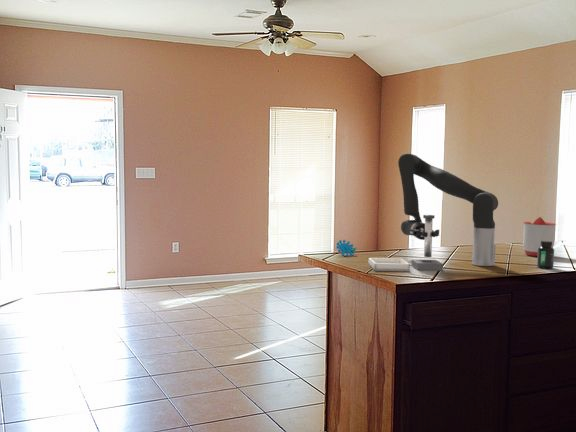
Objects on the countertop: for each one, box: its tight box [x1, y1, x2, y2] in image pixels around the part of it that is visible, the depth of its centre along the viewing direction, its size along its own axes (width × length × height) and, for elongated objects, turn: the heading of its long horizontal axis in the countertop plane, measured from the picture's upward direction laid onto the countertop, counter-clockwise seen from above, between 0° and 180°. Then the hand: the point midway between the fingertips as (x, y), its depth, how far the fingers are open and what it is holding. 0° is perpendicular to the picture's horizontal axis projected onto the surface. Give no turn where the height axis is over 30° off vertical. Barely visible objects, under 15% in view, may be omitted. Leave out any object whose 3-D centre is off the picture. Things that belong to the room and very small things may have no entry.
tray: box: [367, 257, 411, 272], centre depth 270 cm, size 15×17×3 cm
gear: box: [335, 239, 358, 257], centre depth 306 cm, size 11×6×10 cm
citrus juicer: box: [522, 216, 557, 257], centre depth 319 cm, size 16×17×20 cm
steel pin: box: [422, 214, 436, 258], centre depth 270 cm, size 5×5×18 cm
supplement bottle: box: [536, 241, 555, 270], centre depth 279 cm, size 7×7×12 cm
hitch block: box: [410, 258, 444, 272], centre depth 271 cm, size 11×11×3 cm
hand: (430, 234), depth 267 cm, fingers closed on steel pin, 3 cm apart
